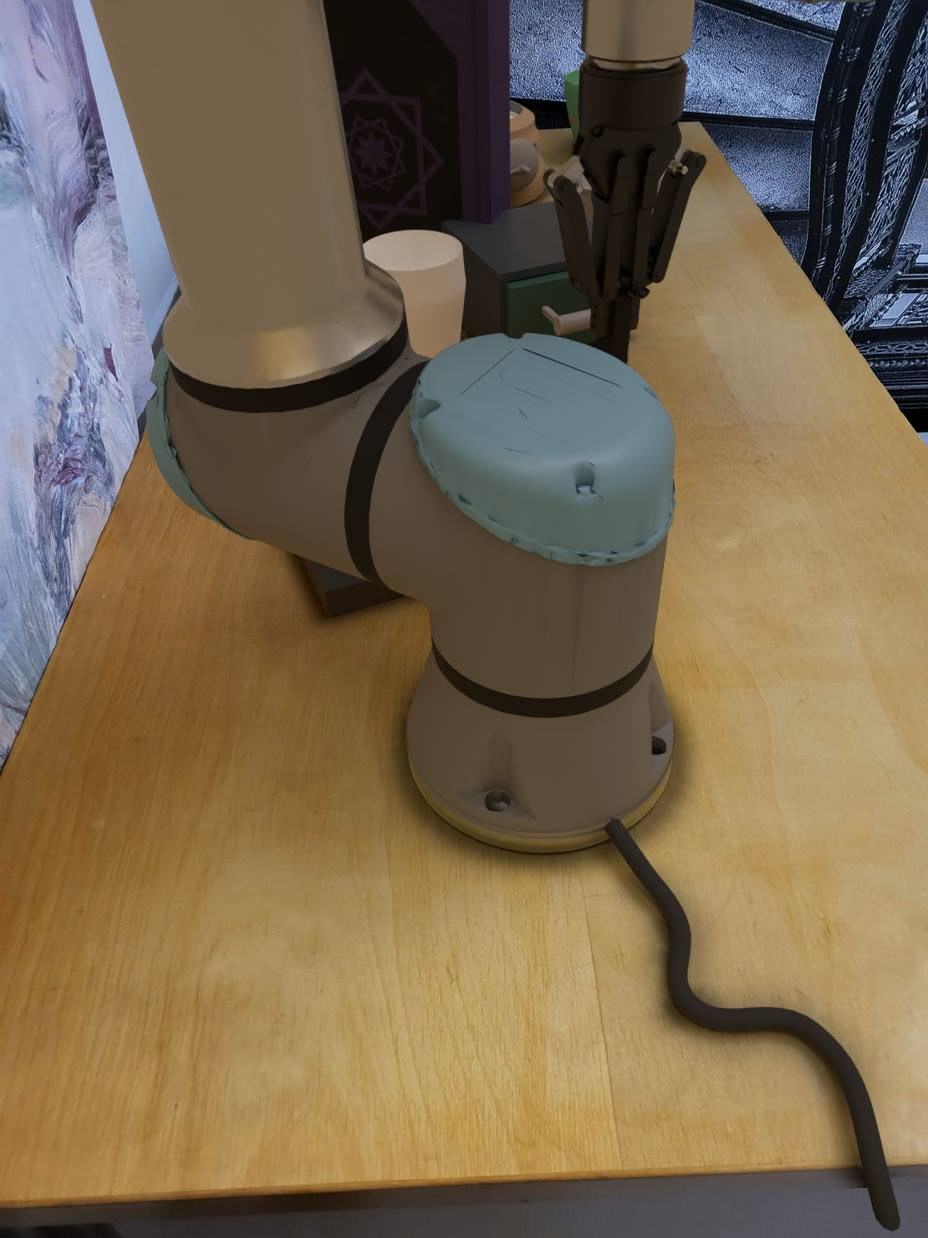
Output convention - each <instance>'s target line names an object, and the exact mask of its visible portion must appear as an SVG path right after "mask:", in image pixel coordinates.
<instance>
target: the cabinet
mask: <svg viewBox="0 0 928 1238" xmlns="http://www.w3.org/2000/svg"><path fill="white" fill-rule="evenodd" d="M586 222H587V228H588V234H589V240H590V246H591V241H592V224H593V222H591V221H590V220H588V219H587V218H586ZM441 231H442V233H445V234H448V235H450V236H452V237H454V238H456V239H457V240H459V241H460V243H461V244H462V249H463V261H464V271H465V278H466V287H465V296H464V306H463V315H462V324H461V328H463V329H464V330H465V331H466V332H467V334H469V335H470V337H471V338H474V337H477V336H484V335H490V334H499V333H503V334H505V335H506V292H505V284H507V283H508V282H510V281H515V280H520V279H524V278H529V277H534V276H539V275H544V274H549V273H553V272H558V271H563V270H567V265H566V260H565V255H564V249H563V244H562V239H561V233H560V228H559V223H558V217H557V212H556V207H555V201H554V200H550V201H544V202H539V203H533V204H528V205H522V206H517V207H513V208H510V209H506V210H505V211H504V212H503V213H502V214H501V215H500V216H499V217H498V218H497V219H496V220H495V221H494V222H493V223H492V224H485V223H481V222H467V221H458V220H447V221H442V222H441ZM586 345H588V346H594V345H597V341H596V342H591V343H587V344H586Z"/></svg>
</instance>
